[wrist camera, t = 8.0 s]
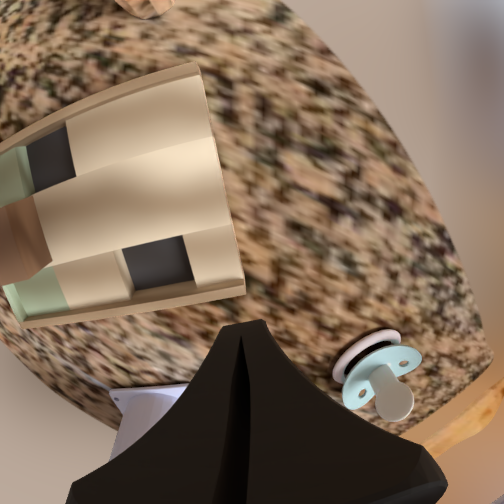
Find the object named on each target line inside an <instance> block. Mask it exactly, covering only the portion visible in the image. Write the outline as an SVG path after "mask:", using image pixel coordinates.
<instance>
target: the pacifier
mask: <svg viewBox="0 0 504 504" xmlns="http://www.w3.org/2000/svg"><path fill="white" fill-rule="evenodd" d="M381 341H391V345H389V346H385V347H382V348H380V349H377V350H375V351H373V352H371V353H370V354H368V355H367V356H365V357H364V358H363V359H361V360H360V361H359V362H358V363H357V364H356V365H355V366H354V367H353V369H352V370H351V371H350V373H349V374H348V375H346V374H344V371H345V368H346V366H347V365H348V364H349V362H350V361H351V360H352V359H353V358H354V357H355V356H356V355H357V354H358V353H360V352H361V351H362V350H364V349H366V348H367V347H369V346H371V345H373V344H375V343H378V342H381ZM400 341H401V337H400V334H399V333H398V332H397V331H395V330H391V329H386V330H380V331H377V332H374V333H372V334H370V335H368V336H366V337H364V338H362V339H361V340H359V341H358V342H356V343H355V344H354V345H352V346H351V347H350V348H349V349H347V350H346V351H345V353H344V354H343V355H342V356H341V357H340V358H339V360H338V361H337V362H336V364H335V366H334V369H333V378H334V380H335V381H337V382H339V383H342V384H344V385H343V388H342V398H343V402H344V404H345V406H346V407H347V408H349V409H353V410H354V409H357V408H360V407H361V406H363V405H364V404H366V403H367V402H368V401H369V400H370V399H371V398H372V397H373V396H374V395H376V402H375V405H376V410H377V412H378V414H379V415H380V416H381V417H382V418H383V419H385V420H387V421H391V422H396V421H400V420H402V419H404V418H405V417H407V416H408V415H409V414H410V412H411V410H412V408H413V405H414V396H413V393H412V391H411V389H410V388H409V387H408V386H407V385H406V384H404V383H402V382H399V381H398V379H397V376H401V375H403V374H406V373H408V372H410V371H411V370H413V369H415V368H416V367H417V366H418V365H419V364H420V363H421V360H422V357H421V354H420V353H419V352H418V351H417V350H416V349H414V348H413V347H410V346H407V345H401V344H400ZM404 360H406V361H408V362H407V363H406V364H404V365H399V363H400V362H401V361H404ZM362 389H366V390H365V393H364V394H363V395H362V396H358V394H359V392H360V391H361V390H362Z"/></svg>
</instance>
